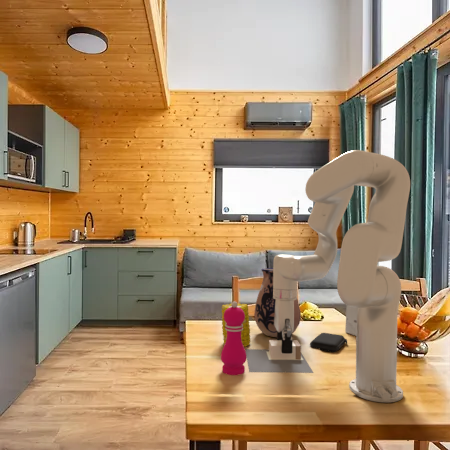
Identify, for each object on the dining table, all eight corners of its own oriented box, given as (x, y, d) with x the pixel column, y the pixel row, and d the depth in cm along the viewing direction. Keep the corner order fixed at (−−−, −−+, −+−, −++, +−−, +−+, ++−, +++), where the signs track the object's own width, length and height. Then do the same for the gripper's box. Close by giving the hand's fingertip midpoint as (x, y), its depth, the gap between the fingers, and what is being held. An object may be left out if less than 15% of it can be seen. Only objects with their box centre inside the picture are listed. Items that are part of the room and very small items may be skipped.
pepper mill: (224, 378, 104) (225, 304, 104) (217, 369, 111) (218, 299, 111) (249, 376, 106) (250, 303, 106) (241, 366, 113) (242, 298, 113)
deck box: (271, 358, 119) (271, 345, 119) (268, 352, 125) (269, 339, 125) (300, 359, 119) (300, 346, 119) (297, 352, 125) (297, 340, 125)
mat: (313, 374, 108) (313, 372, 108) (249, 373, 108) (249, 371, 108) (299, 351, 128) (299, 349, 128) (245, 350, 128) (245, 349, 128)
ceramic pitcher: (247, 337, 143) (248, 270, 143) (264, 324, 162) (265, 265, 162) (294, 344, 136) (295, 273, 136) (306, 329, 155) (307, 267, 155)
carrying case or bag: (340, 355, 126) (349, 343, 139) (340, 346, 126) (350, 335, 139) (308, 349, 131) (320, 339, 144) (308, 340, 131) (320, 330, 144)
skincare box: (344, 332, 152) (345, 301, 152) (353, 331, 154) (353, 300, 154) (356, 336, 146) (357, 304, 146) (365, 335, 148) (365, 303, 149)
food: (238, 356, 127) (218, 349, 135) (261, 341, 135) (241, 336, 142) (229, 312, 125) (209, 308, 133) (253, 299, 133) (233, 296, 141)
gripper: (269, 289, 131) (269, 339, 131) (277, 298, 113) (276, 357, 113) (292, 289, 131) (291, 340, 131) (302, 299, 113) (301, 357, 113)
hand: (284, 348), depth 122 cm, fingers open, 9 cm apart
